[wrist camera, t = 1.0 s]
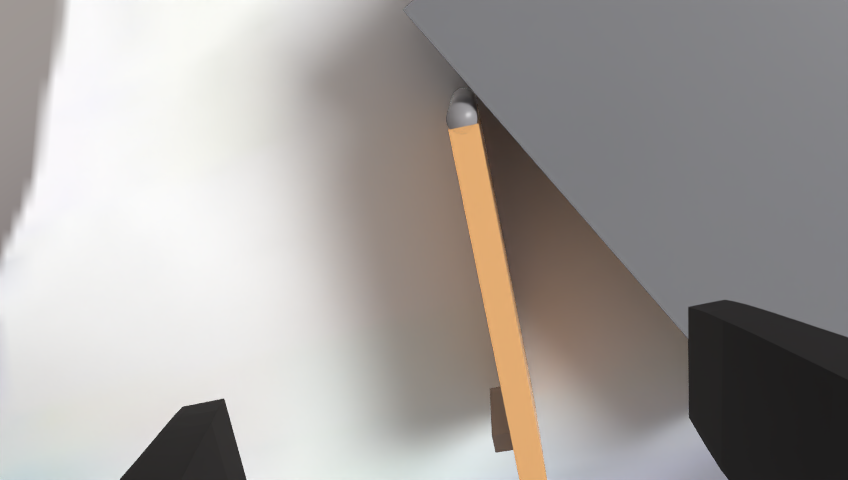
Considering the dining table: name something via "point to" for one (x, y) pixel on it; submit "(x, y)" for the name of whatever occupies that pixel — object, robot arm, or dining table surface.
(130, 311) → the dining table surface
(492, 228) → the door
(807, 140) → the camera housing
